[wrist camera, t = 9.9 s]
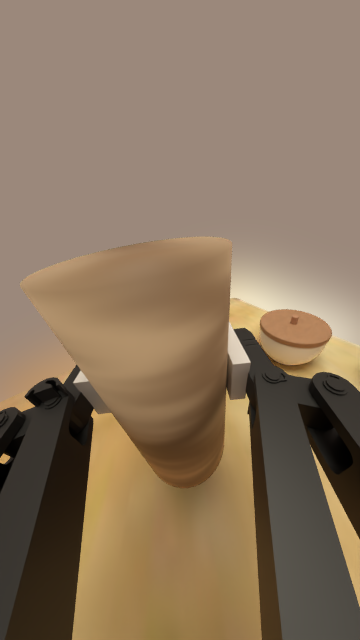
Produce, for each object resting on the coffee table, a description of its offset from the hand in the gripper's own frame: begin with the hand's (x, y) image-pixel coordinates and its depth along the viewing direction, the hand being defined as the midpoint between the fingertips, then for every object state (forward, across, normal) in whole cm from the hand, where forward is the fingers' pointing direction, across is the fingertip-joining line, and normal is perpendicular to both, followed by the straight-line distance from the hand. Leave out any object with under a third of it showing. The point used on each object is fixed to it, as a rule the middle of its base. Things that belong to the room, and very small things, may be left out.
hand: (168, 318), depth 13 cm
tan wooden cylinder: (-5, 0, -8) cm, 9 cm away
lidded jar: (+12, +20, -20) cm, 31 cm away
